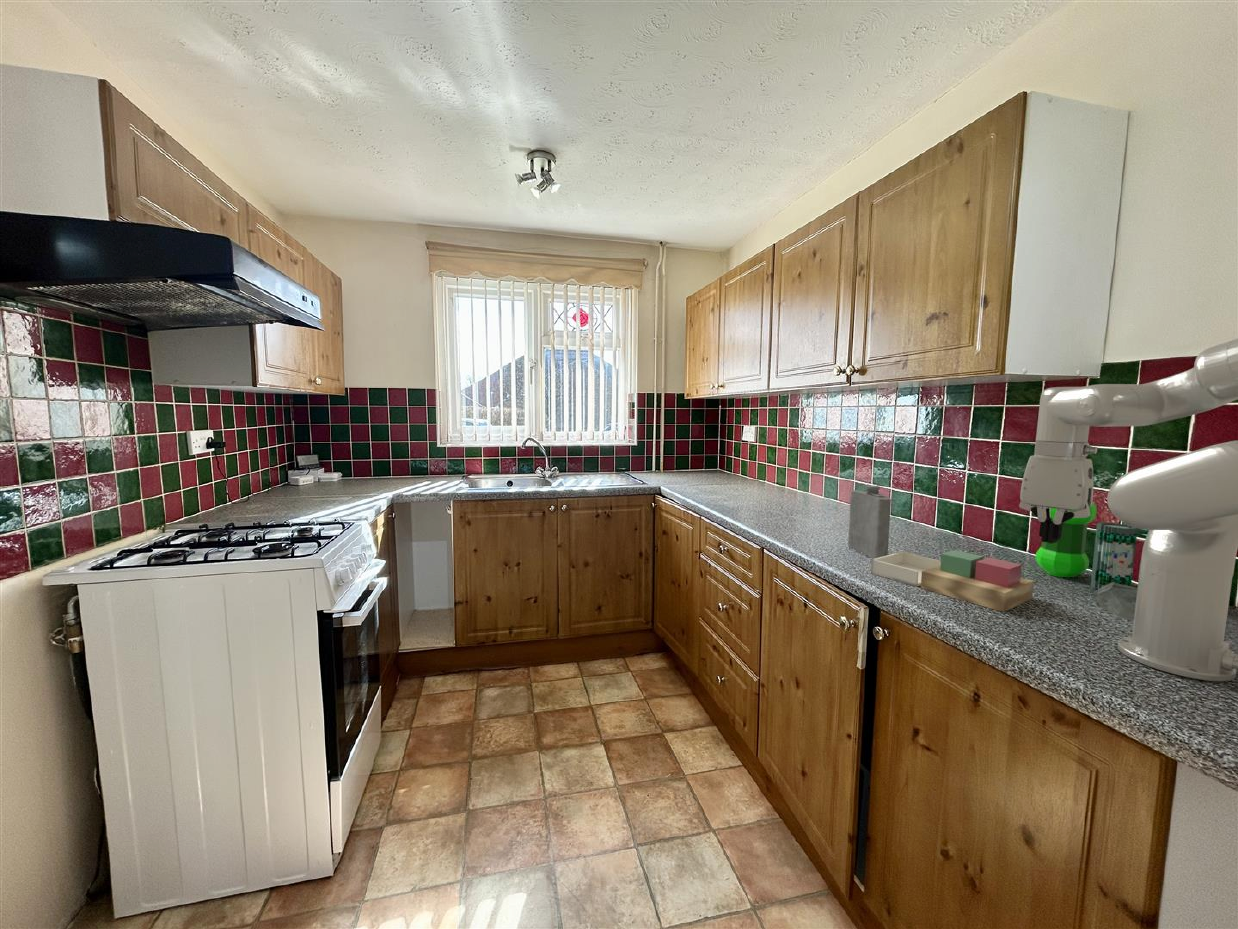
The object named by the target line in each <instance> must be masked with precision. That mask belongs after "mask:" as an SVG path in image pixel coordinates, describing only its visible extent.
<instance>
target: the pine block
mask: <svg viewBox="0 0 1238 929" xmlns="http://www.w3.org/2000/svg"><path fill="white" fill-rule="evenodd" d="M940 566H941V565H940ZM940 566H937V567H934V568H930V569H927V570H924V571H922V577H921V585H920V589H924V590H927V591H930V592H934V593H937V594H940V595H944V596H947V597H951V598H953V599H957V600H961V601H965V602H967V601H968V603H972V604H975V605H976V606H977V605H978V606H981V607H985V608H989V609H992V610H995V611H999V612H1002V613H1005V612H1008V611H1009V610H1011V609H1013V608H1015V607H1017V606H1019V605H1021V604H1023V603H1027V601H1030V600H1032V599H1033V593H1034V591H1033V590H1034V584H1035V583H1034V582H1035V581H1034V580H1032V579H1028V578H1023V577H1021V579H1020V583H1018V584H1016V585H1014V586H1011V587H1009V588H1006V587H1002V586H998V585H995V584H991V583H987V582H983V581H979V580H975V576H974V577H972V578H967V577H963V576H959V575H955V574H951V573H947V572H943V571H940Z"/></svg>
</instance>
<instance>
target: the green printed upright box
mask: <svg viewBox="0 0 1238 929" xmlns="http://www.w3.org/2000/svg"><path fill="white" fill-rule="evenodd" d="M1138 530H1139V528H1135V527H1132V526H1130V525H1127V524H1125V523H1124V524H1122V523H1115V522H1097V523H1096V531H1095V540H1094V550H1093V561H1092V568H1091V570H1092V571H1091V580H1090V588H1092V589H1093V588H1094V589H1093V590H1096V589H1100V588H1101V587H1102V586H1104V585H1107V584H1109V583H1112V582H1114V583H1117V584H1122V585H1127V586H1131V587H1132V581H1133V573H1134V565H1135V564H1134V563H1135V556H1136V555H1135V554H1136V547H1137V538H1138Z"/></svg>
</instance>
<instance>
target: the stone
mask: <svg viewBox="0 0 1238 929" xmlns="http://www.w3.org/2000/svg"><path fill="white" fill-rule="evenodd" d="M1137 589H1138V587H1133V586H1132V585H1131V586H1127V585H1122V584H1117V583H1114V582H1112V583H1109V584H1107V585H1104V586H1102V587H1101V588H1100V589H1098V590H1095V591H1094V594H1095V597H1096V598H1097V600H1098V603H1099V604H1100V606H1101V608H1102V609H1105V610H1107V611H1108V612H1110V613H1112V614H1114V615H1115V616H1117V617H1118V618H1122V619H1124V620H1130V621H1131V620H1132V621H1134V615H1135V607H1136V598H1137Z"/></svg>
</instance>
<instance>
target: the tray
mask: <svg viewBox="0 0 1238 929" xmlns="http://www.w3.org/2000/svg"><path fill="white" fill-rule="evenodd" d="M870 564H871V565H870V566H871V567H870V574H871V573H873V574H872V575H875V574H876V576H878V575H879V577H882V578H885V577H887V578H886V579H888V578H890V579H889V580H892V579H893V581H896V582H899V583H902V584H906V583H907V584H906V585H909V586H913V587H921V577H922V571H924V570H927V569H930V568H934V567H937V566H940V565H941V559H936V558H932V557H927V556H923V555H920V554H916V553H915V554H914V553H910V552H906V551H903V550H902V551H899V552H895V553H891V554H888V555H887V556H883V557H879V558H875V559H871V563H870Z"/></svg>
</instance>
